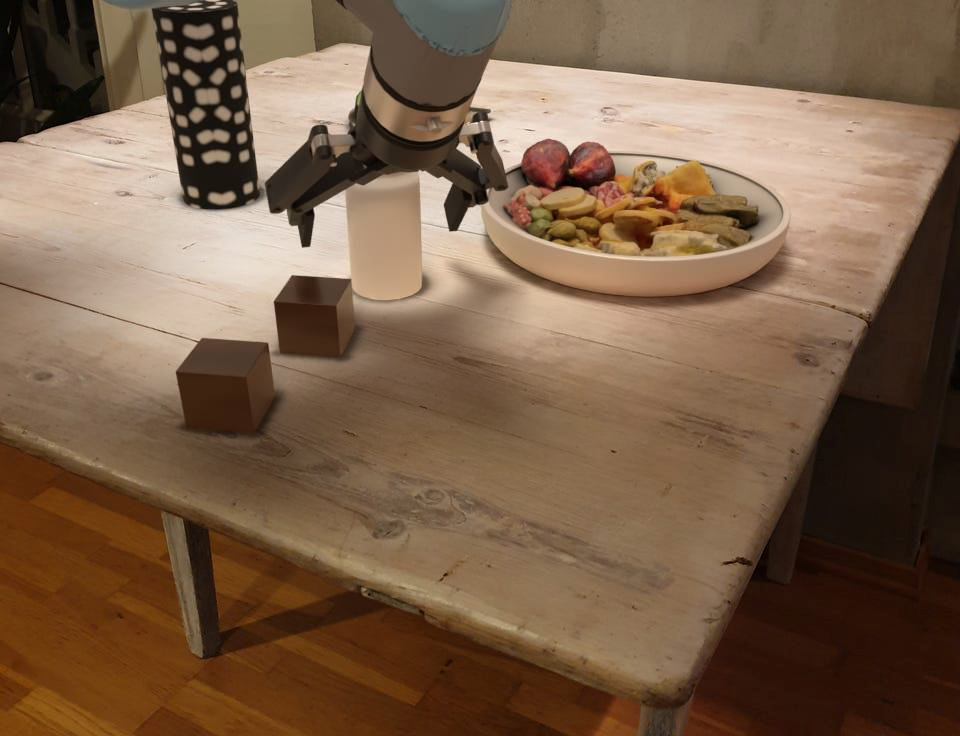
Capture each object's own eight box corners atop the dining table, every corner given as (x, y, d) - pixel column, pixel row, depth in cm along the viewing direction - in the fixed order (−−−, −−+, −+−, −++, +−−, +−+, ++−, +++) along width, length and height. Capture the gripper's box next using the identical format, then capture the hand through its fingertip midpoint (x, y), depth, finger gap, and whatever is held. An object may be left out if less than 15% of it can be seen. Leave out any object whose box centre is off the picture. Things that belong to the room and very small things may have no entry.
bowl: (838, 248, 98) (856, 172, 93) (657, 345, 80) (669, 257, 76) (608, 175, 115) (614, 108, 111) (419, 242, 98) (417, 165, 93)
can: (437, 289, 89) (435, 159, 82) (383, 311, 85) (376, 176, 78) (390, 268, 93) (385, 142, 86) (337, 288, 89) (327, 158, 82)
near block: (211, 396, 73) (201, 337, 70) (275, 401, 72) (268, 342, 70) (186, 432, 69) (175, 371, 66) (254, 438, 68) (246, 376, 65)
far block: (297, 329, 82) (291, 274, 79) (355, 333, 81) (351, 278, 79) (280, 357, 78) (273, 301, 75) (340, 362, 77) (336, 305, 75)
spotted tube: (225, 218, 103) (196, 15, 91) (167, 203, 106) (132, 6, 95) (275, 195, 109) (254, 2, 97) (219, 182, 112) (193, -6, 101)
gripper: (243, 162, 64) (245, 280, 84) (593, 132, 70) (516, 249, 90) (224, 59, 65) (231, 200, 85) (570, 39, 71) (499, 174, 91)
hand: (378, 225), depth 88 cm, fingers open, 13 cm apart
